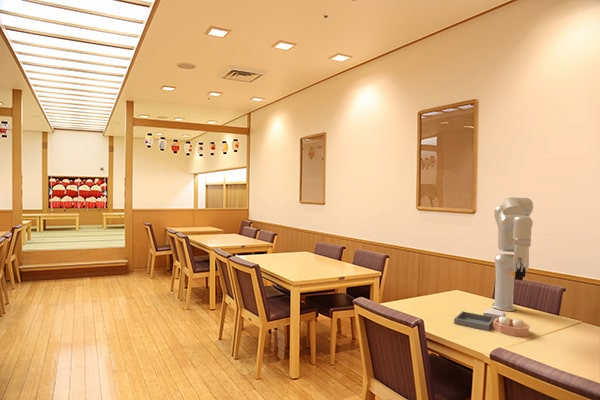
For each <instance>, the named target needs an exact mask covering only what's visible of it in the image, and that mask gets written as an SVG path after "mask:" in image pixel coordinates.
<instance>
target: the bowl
mask: <svg viewBox="0 0 600 400" xmlns="http://www.w3.org/2000/svg"><path fill="white" fill-rule="evenodd" d="M492 330H494V331H496V332H498V333H500V334H502V335H507V336H512V337H529V334H530V324H529V323H527V322H524V326H523V328H514V327H513V318H510V325H509V326H504V325H501V324H499V318H495V319H494V321H493V326H492Z"/></svg>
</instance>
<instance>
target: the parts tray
mask: <svg viewBox="0 0 600 400" xmlns="http://www.w3.org/2000/svg"><path fill="white" fill-rule="evenodd" d="M494 319H495V317H490V316H484V315H483V314H478V313H473V312H469V311H468V312H467V311H463V310H462V311H461V312H460V313H459V314H457V316H455V317H454V319H453V324H454V325H458V326H463V327H468V328H473V329H476V330H477V329H478V330H482V331H487V332H489V331H490V330H491V329H492V328H493V321H494Z"/></svg>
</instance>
